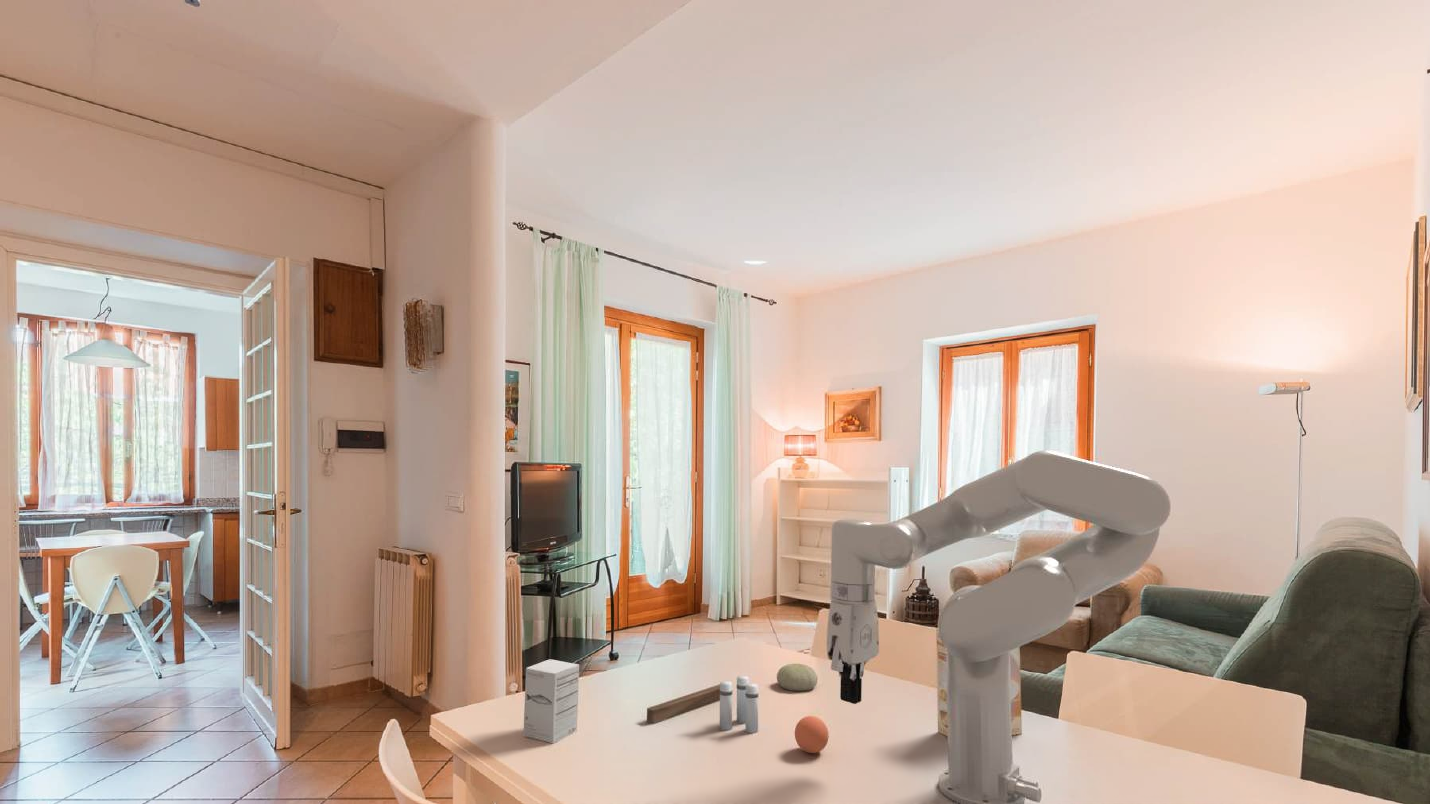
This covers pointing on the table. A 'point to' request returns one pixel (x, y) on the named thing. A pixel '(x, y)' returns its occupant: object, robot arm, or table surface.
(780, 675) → the sea urchin shell
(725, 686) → the pin
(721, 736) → the table surface
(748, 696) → the front pin
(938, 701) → the coffeecake box
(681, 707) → the back wall
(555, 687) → the supplement box
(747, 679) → the pin
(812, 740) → the ball
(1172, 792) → the table surface
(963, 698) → the robot arm
